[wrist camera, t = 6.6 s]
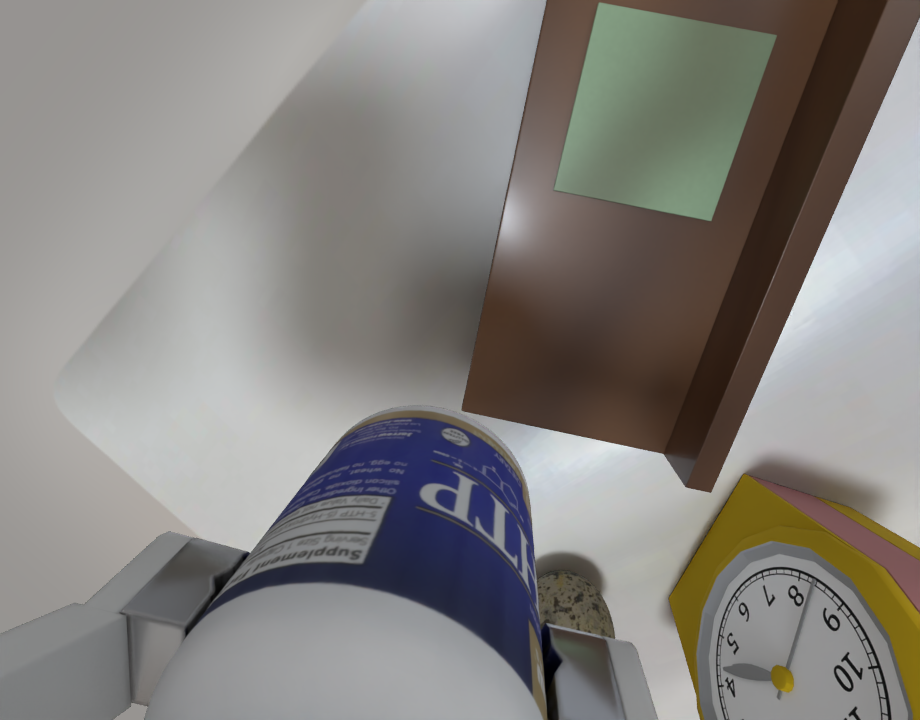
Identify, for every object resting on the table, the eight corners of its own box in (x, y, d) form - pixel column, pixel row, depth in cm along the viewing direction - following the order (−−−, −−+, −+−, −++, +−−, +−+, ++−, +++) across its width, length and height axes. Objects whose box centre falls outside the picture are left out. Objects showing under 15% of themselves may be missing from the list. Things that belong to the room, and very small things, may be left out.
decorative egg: (584, 621, 35) (614, 773, 25) (510, 599, 35) (513, 743, 25) (613, 563, 33) (657, 704, 24) (535, 540, 33) (548, 672, 24)
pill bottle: (566, 534, 11) (734, 1427, 3) (396, 602, 13) (179, 1365, 4) (461, 360, 10) (256, 1013, 2) (285, 453, 12) (-315, 1099, 3)
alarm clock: (746, 448, 29) (1102, 792, 12) (866, 486, 29) (1395, 885, 12) (649, 612, 34) (800, 1028, 17) (752, 645, 34) (1009, 1093, 17)
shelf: (469, 373, 29) (455, 438, 21) (554, -34, 22) (585, -186, 14) (650, 411, 29) (711, 493, 21) (794, 11, 22) (979, -117, 13)
